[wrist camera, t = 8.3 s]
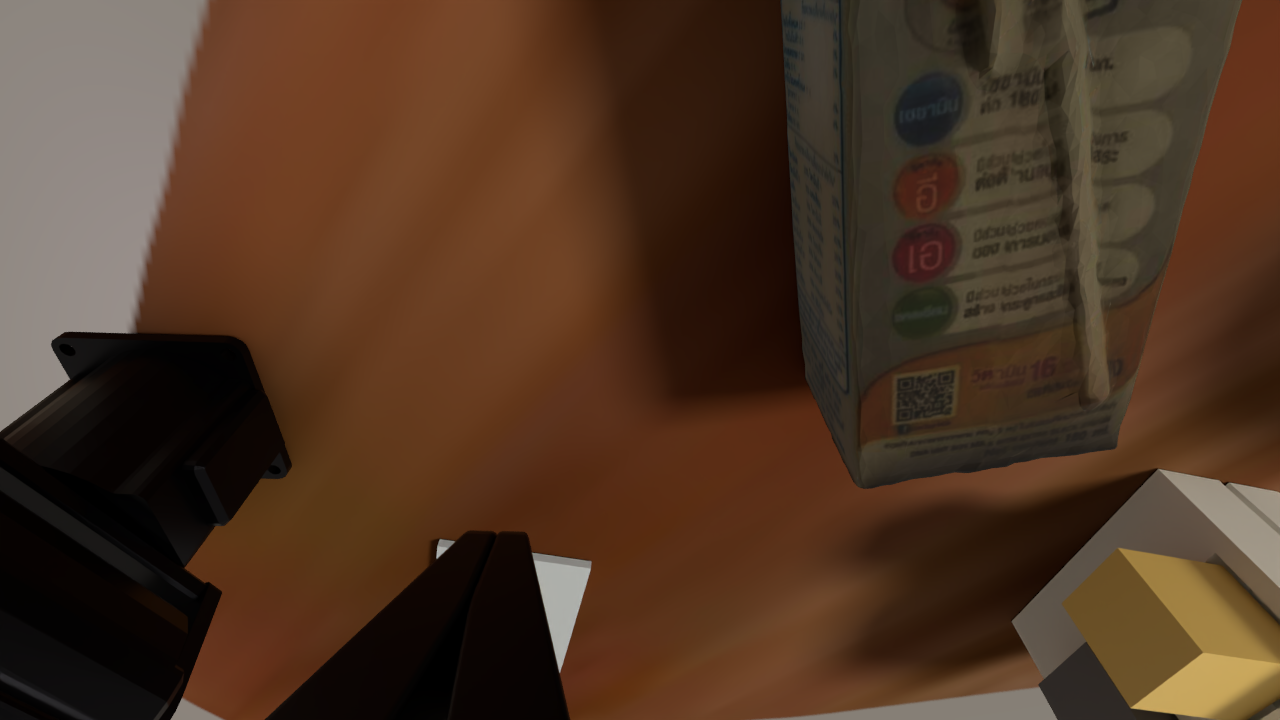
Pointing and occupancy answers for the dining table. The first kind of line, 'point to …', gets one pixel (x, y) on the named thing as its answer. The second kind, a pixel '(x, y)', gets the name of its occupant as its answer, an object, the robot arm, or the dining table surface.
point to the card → (556, 593)
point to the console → (1168, 554)
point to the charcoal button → (1089, 692)
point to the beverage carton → (987, 215)
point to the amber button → (1179, 636)
